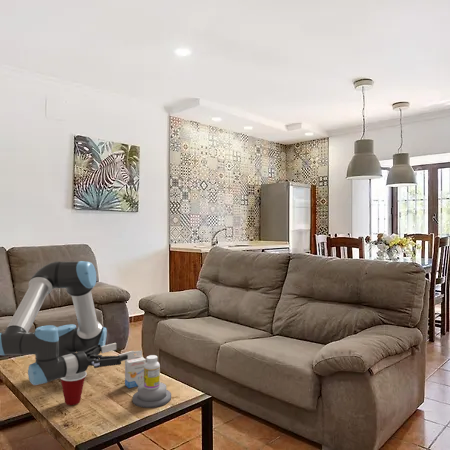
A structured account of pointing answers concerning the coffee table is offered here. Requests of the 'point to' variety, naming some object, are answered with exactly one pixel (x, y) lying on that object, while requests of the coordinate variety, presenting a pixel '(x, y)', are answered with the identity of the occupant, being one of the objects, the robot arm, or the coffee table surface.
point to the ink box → (134, 370)
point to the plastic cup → (73, 387)
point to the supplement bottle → (151, 373)
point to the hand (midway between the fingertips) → (124, 350)
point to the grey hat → (151, 396)
